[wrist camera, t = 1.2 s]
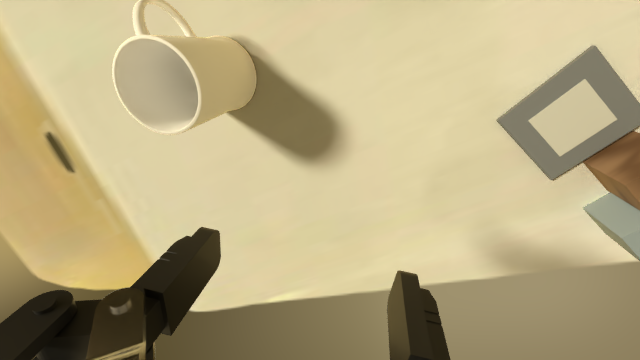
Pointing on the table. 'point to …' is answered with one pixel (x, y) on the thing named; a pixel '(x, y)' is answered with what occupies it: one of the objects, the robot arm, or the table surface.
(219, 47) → the mug
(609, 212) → the blue grey block
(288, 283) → the table surface
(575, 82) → the pad
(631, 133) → the walnut block
